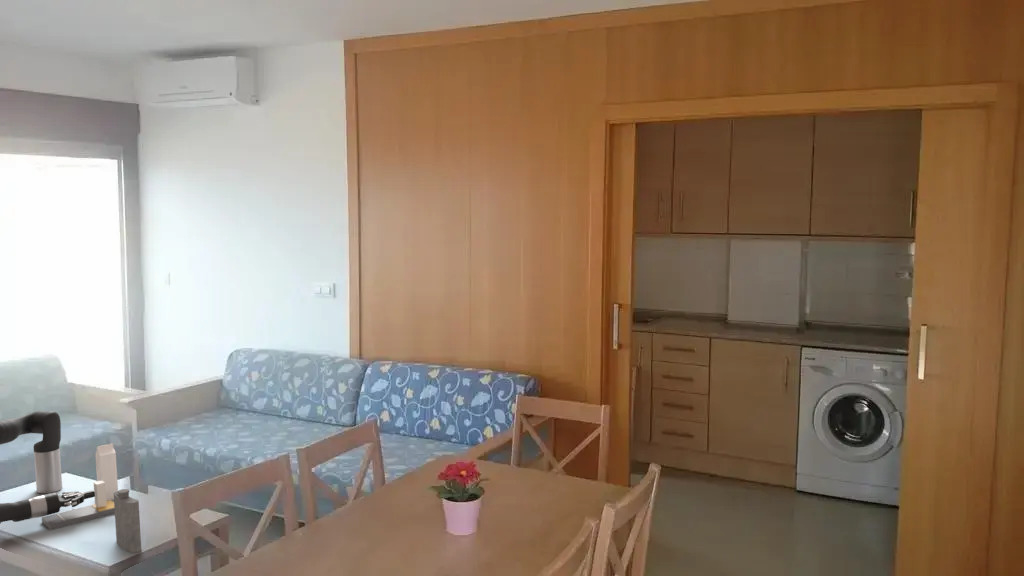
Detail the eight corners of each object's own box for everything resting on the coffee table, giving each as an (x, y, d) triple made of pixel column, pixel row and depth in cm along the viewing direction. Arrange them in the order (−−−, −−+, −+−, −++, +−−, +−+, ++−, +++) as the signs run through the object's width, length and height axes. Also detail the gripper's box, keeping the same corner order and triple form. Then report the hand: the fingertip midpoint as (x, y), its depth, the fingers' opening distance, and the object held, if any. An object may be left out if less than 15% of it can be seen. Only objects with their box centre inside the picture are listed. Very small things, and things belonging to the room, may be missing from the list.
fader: (95, 505, 309) (93, 482, 308) (103, 503, 311) (101, 480, 310) (98, 507, 306) (96, 484, 305) (106, 505, 308) (105, 482, 307)
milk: (118, 498, 324) (115, 445, 321) (102, 502, 319) (99, 448, 317) (113, 494, 328) (110, 441, 326) (97, 498, 324) (94, 444, 322)
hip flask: (143, 551, 274) (139, 494, 271) (130, 554, 271) (127, 497, 269) (124, 538, 284) (121, 483, 282) (112, 541, 281) (108, 486, 279)
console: (42, 522, 299) (41, 516, 299) (116, 504, 317) (115, 498, 317) (49, 530, 292) (49, 524, 292) (125, 510, 310) (124, 505, 310)
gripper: (47, 500, 289) (99, 488, 301) (37, 491, 299) (87, 479, 311) (49, 520, 290) (100, 507, 302) (38, 510, 300) (89, 498, 312)
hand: (94, 493), depth 307 cm, fingers closed
